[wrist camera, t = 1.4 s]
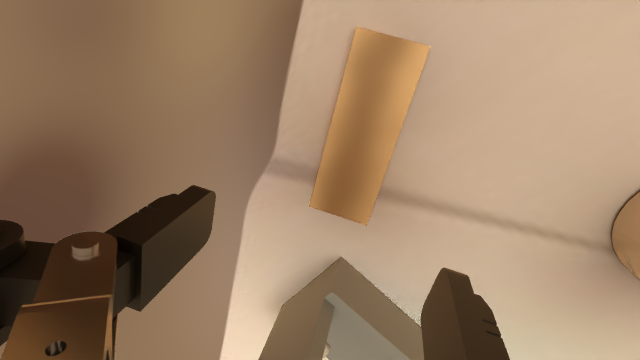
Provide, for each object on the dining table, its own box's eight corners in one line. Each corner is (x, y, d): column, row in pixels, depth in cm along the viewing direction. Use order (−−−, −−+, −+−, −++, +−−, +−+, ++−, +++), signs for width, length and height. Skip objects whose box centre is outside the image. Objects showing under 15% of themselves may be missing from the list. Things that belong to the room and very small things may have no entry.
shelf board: (427, 46, 24) (430, 46, 22) (369, 209, 30) (366, 225, 27) (361, 28, 25) (356, 26, 22) (317, 192, 31) (309, 206, 28)
